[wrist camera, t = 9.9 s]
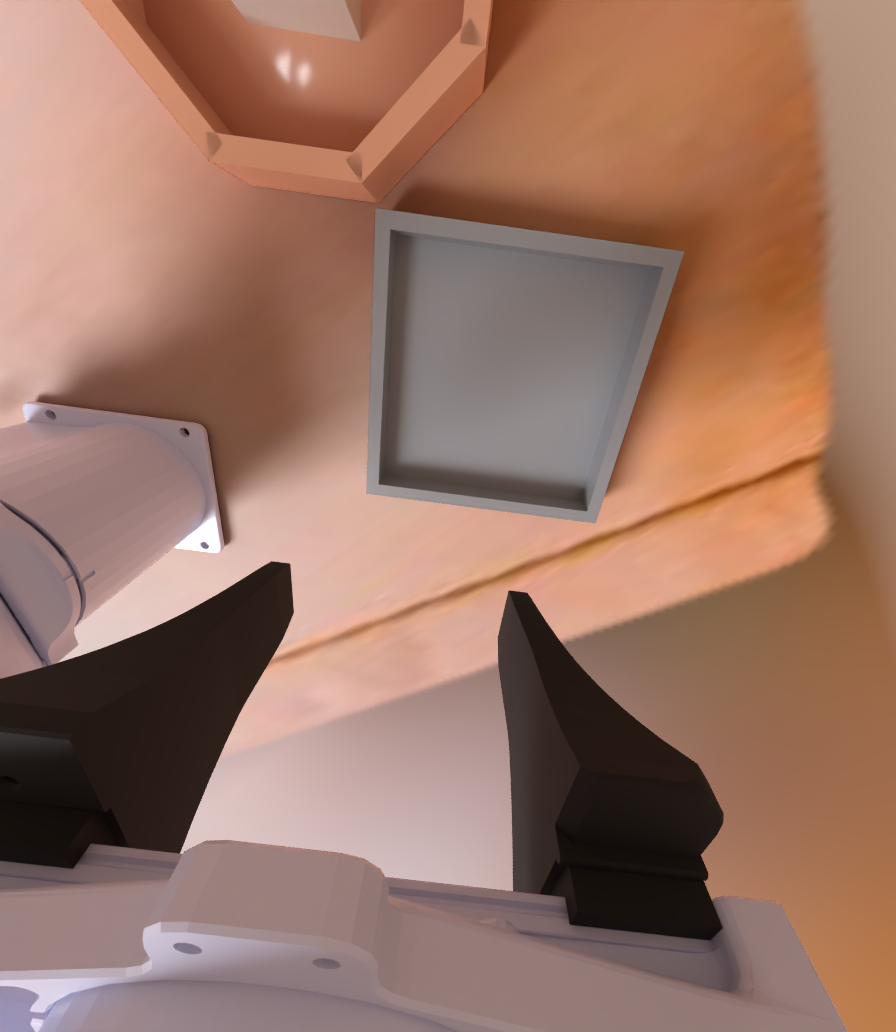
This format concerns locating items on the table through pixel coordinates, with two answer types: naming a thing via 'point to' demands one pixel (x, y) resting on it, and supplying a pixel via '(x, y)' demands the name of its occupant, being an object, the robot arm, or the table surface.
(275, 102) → the bowl
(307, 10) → the beige cube
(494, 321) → the parts tray
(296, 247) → the table surface
